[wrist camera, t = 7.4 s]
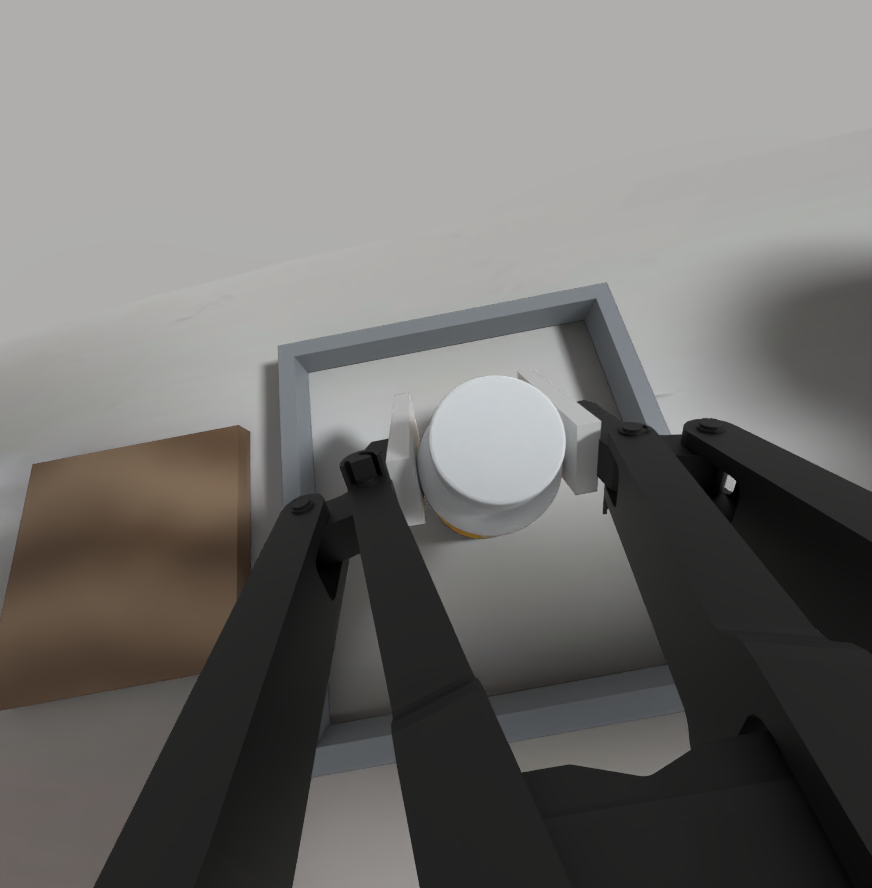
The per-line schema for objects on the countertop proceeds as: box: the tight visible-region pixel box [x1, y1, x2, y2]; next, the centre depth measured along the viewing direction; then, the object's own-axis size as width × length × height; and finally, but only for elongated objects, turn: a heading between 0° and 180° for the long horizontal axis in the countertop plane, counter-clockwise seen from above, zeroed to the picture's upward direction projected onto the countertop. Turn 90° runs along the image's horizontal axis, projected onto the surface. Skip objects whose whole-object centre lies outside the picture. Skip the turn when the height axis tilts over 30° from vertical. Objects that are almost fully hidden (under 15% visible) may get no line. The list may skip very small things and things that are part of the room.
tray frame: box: [278, 282, 685, 778], centre depth 18 cm, size 22×21×2 cm
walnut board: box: [0, 425, 250, 710], centre depth 19 cm, size 13×13×1 cm
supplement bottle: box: [417, 375, 566, 539], centre depth 14 cm, size 5×5×10 cm
